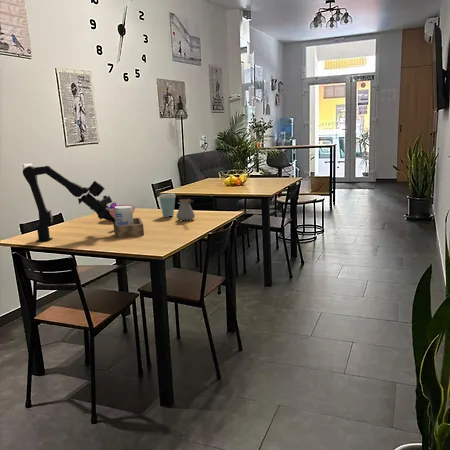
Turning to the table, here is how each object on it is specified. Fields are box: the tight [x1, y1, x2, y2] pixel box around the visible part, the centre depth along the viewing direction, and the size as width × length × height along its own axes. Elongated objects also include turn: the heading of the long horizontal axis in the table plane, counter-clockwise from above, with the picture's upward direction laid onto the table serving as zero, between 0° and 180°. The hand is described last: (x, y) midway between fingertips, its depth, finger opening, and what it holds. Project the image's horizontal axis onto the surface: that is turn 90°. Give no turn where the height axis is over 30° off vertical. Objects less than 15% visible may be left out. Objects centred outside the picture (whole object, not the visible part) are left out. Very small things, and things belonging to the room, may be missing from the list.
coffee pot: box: [176, 198, 196, 221], centre depth 273 cm, size 21×12×15 cm, turn 21°
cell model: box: [106, 201, 136, 218], centre depth 287 cm, size 17×20×11 cm
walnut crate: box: [112, 217, 145, 239], centre depth 250 cm, size 15×21×7 cm
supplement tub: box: [115, 205, 134, 226], centre depth 248 cm, size 10×10×15 cm
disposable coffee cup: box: [158, 192, 176, 218], centre depth 292 cm, size 11×11×15 cm
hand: (115, 221), depth 247 cm, fingers closed, pressing on supplement tub
